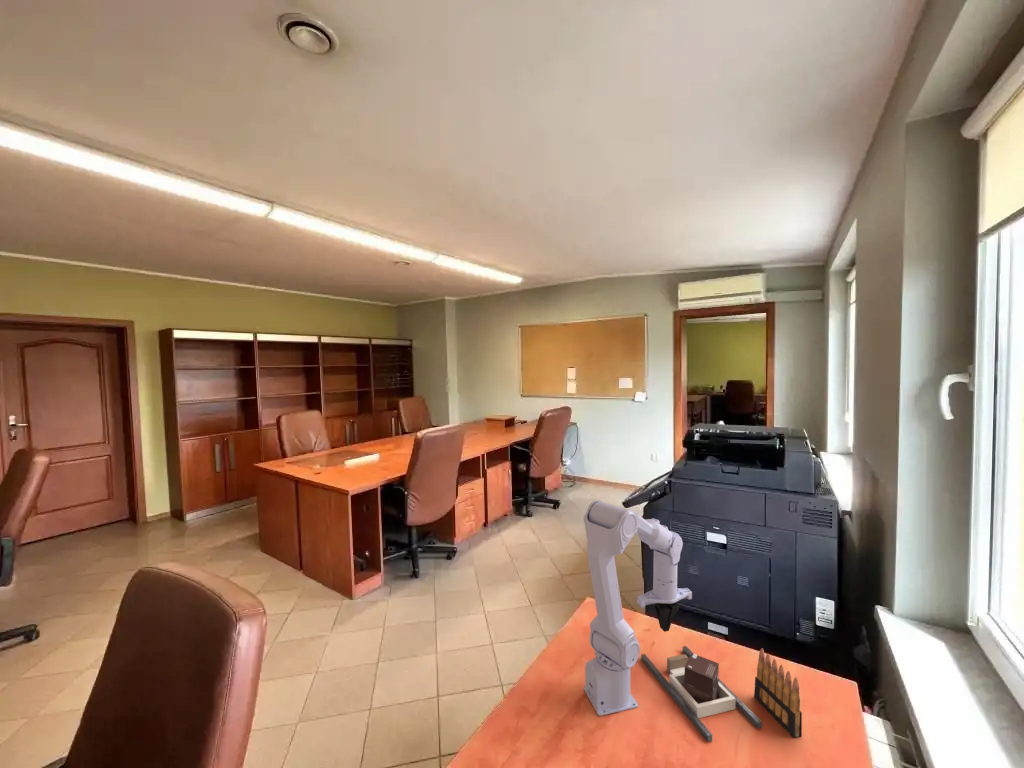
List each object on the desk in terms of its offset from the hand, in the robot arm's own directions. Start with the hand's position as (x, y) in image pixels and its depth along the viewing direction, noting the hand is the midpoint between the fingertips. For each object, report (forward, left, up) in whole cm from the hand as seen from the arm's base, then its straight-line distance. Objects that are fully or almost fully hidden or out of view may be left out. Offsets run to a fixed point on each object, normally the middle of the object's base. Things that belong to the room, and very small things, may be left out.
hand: (664, 628), depth 108 cm
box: (0, -14, -7) cm, 16 cm away
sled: (0, -12, -7) cm, 14 cm away
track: (0, -12, -7) cm, 14 cm away
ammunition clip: (+12, -22, -7) cm, 26 cm away
